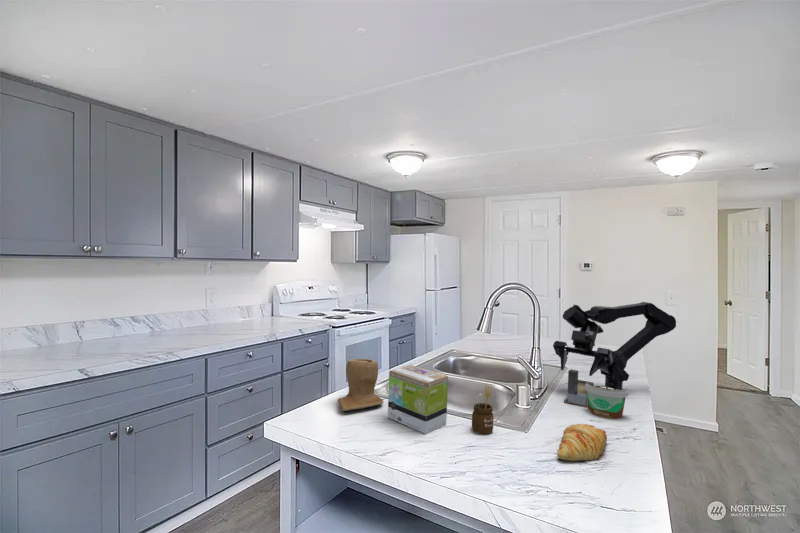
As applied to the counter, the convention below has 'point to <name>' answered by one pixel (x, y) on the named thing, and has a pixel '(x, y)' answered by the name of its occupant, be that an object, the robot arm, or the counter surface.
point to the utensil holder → (483, 416)
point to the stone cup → (360, 385)
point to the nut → (582, 389)
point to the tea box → (418, 398)
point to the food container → (606, 401)
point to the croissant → (581, 443)
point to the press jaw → (575, 389)
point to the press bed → (587, 398)
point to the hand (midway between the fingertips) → (575, 372)
